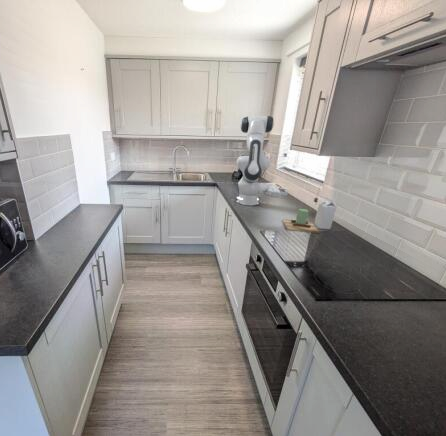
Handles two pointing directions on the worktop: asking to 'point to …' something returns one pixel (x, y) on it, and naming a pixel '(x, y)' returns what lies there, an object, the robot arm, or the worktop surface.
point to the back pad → (302, 216)
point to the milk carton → (325, 214)
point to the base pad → (300, 226)
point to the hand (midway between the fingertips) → (286, 192)
